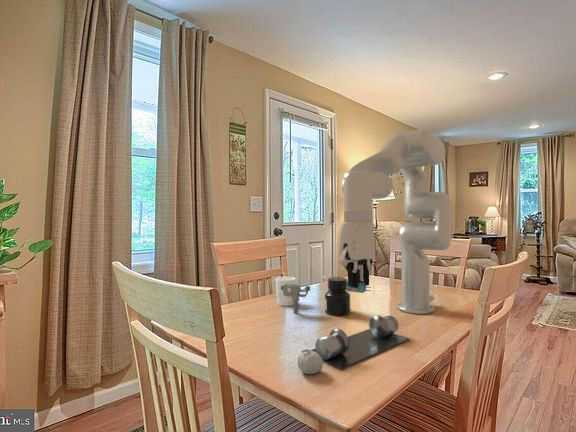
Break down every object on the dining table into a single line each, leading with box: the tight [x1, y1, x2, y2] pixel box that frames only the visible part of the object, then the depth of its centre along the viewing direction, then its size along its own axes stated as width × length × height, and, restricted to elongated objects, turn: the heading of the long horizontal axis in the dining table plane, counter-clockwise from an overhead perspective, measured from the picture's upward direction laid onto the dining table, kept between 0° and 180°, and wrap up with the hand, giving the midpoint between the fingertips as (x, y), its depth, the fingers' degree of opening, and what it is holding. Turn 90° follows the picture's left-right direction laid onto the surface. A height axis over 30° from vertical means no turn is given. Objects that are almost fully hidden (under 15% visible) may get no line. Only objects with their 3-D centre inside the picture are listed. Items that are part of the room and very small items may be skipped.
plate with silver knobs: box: [308, 315, 410, 371], centre depth 92 cm, size 28×12×6 cm, turn 129°
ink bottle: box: [324, 276, 351, 317], centre depth 123 cm, size 10×9×12 cm
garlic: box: [297, 348, 324, 375], centre depth 78 cm, size 6×5×5 cm
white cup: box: [275, 276, 297, 307], centre depth 135 cm, size 8×8×10 cm
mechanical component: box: [281, 283, 311, 315], centre depth 122 cm, size 3×10×10 cm, turn 79°
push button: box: [346, 259, 372, 294], centre depth 92 cm, size 7×5×10 cm
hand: (358, 285), depth 92 cm, fingers closed on push button, 3 cm apart
